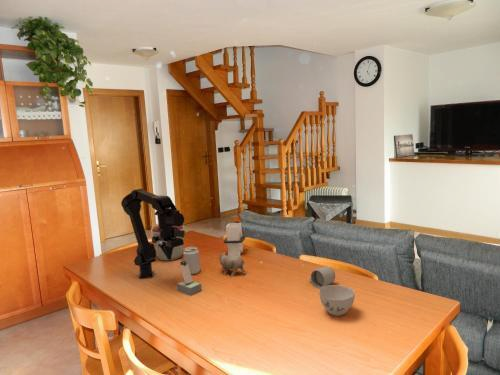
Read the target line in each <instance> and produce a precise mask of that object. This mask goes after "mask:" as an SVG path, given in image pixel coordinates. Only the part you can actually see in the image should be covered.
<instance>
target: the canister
mask: <svg viewBox="0 0 500 375" xmlns="http://www.w3.org/2000/svg"><path fill="white" fill-rule="evenodd" d="M174 227H177V228H178V230H182V231H185V225H184V224H183V225H182V226H179V227H178V226H174ZM157 228H159V224H157V225H155V226H154V227H153V228H151V229H150V233H152V237H153V236H156V235H160V232H159V231H158V230H157ZM176 238H181V239H183V240H184V238H182V237H177V236H176ZM173 239H174V238H173ZM153 244H154V247H155V250H156V257H157V258H158V259H159V260H161V261H175V260H177V259H180V258H181V257H182V255H183V252H184V245H180V246H177V247H174V248H173V251H172V257H171V259H170V260H169V259H168V258H167V257H166V255H165V254H164V252H163V251H162V249H161V248H160V246H158V245H159V244H160V242H159V241H156V243H153Z"/></svg>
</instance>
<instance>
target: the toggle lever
mask: <svg viewBox="0 0 500 375" xmlns="http://www.w3.org/2000/svg"><path fill="white" fill-rule="evenodd" d="M179 266H180V271H181V273H182V276H183V279H184V280H183V281H185V283H186V284H187V283H190V282H192V281H194V280H193V276H192V274H191V273H190V270H189V267H188V264H187V263H186V261H184V260H181V262H180V265H179Z"/></svg>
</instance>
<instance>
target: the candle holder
mask: <svg viewBox="0 0 500 375" xmlns="http://www.w3.org/2000/svg"><path fill="white" fill-rule="evenodd" d="M225 228H226V230H225V232H226V237H225V238H224V241H223V244H227V255H231V254H234V255H239V256H241V254H242V253H243V252H244V246H243V242H244V241H245V240H246V235H243V230H242V223H241V222H234V223H233V222H232V223H228V224H227V225H226V226H225Z"/></svg>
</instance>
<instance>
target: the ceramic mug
mask: <svg viewBox="0 0 500 375" xmlns="http://www.w3.org/2000/svg"><path fill="white" fill-rule="evenodd" d="M335 280H336V273H335V271H334V269H333V268H331V267H330V266H324V267H320V268H317V269H314V270H312V271H311V274H310V278H309V282H310V283H312V285H313V286H314V287H315V288H317V289H320V288H322V287H323V286H327V285H332V283H334V281H335Z"/></svg>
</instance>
